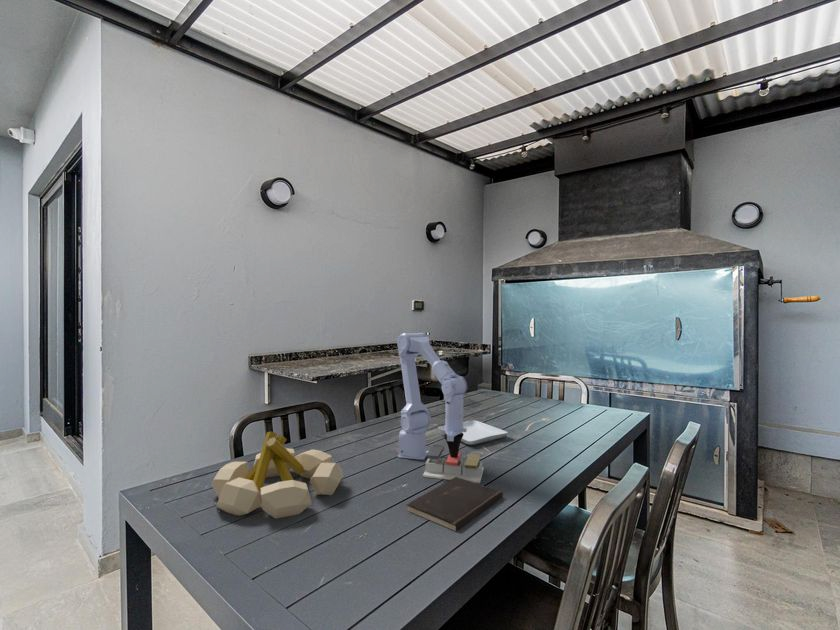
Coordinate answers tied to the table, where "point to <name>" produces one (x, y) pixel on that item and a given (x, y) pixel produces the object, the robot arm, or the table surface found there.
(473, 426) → the salad plate
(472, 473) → the panel
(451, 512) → the hardcover book
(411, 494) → the table surface
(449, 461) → the red plug
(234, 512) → the campfire
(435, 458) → the grey rectangular block
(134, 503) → the table surface
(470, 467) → the brass plug
